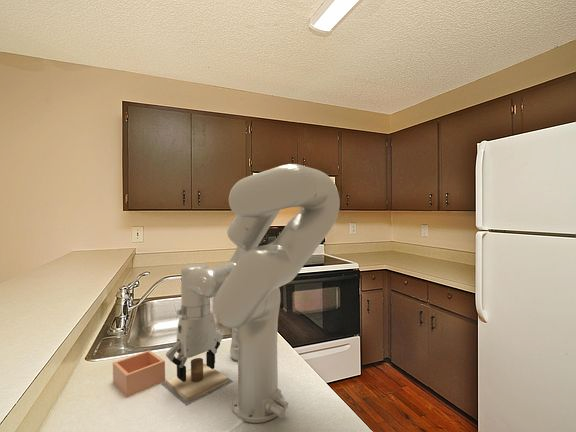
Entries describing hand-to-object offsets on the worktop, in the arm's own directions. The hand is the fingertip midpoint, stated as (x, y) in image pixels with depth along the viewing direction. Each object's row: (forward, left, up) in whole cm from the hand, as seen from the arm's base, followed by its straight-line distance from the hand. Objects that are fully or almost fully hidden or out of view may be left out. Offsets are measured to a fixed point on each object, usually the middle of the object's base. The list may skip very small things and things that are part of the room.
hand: (196, 372), depth 83 cm
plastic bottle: (+2, -17, -3) cm, 17 cm away
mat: (0, 0, -3) cm, 3 cm away
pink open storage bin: (+12, +10, -3) cm, 17 cm away
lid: (0, 0, -3) cm, 3 cm away
